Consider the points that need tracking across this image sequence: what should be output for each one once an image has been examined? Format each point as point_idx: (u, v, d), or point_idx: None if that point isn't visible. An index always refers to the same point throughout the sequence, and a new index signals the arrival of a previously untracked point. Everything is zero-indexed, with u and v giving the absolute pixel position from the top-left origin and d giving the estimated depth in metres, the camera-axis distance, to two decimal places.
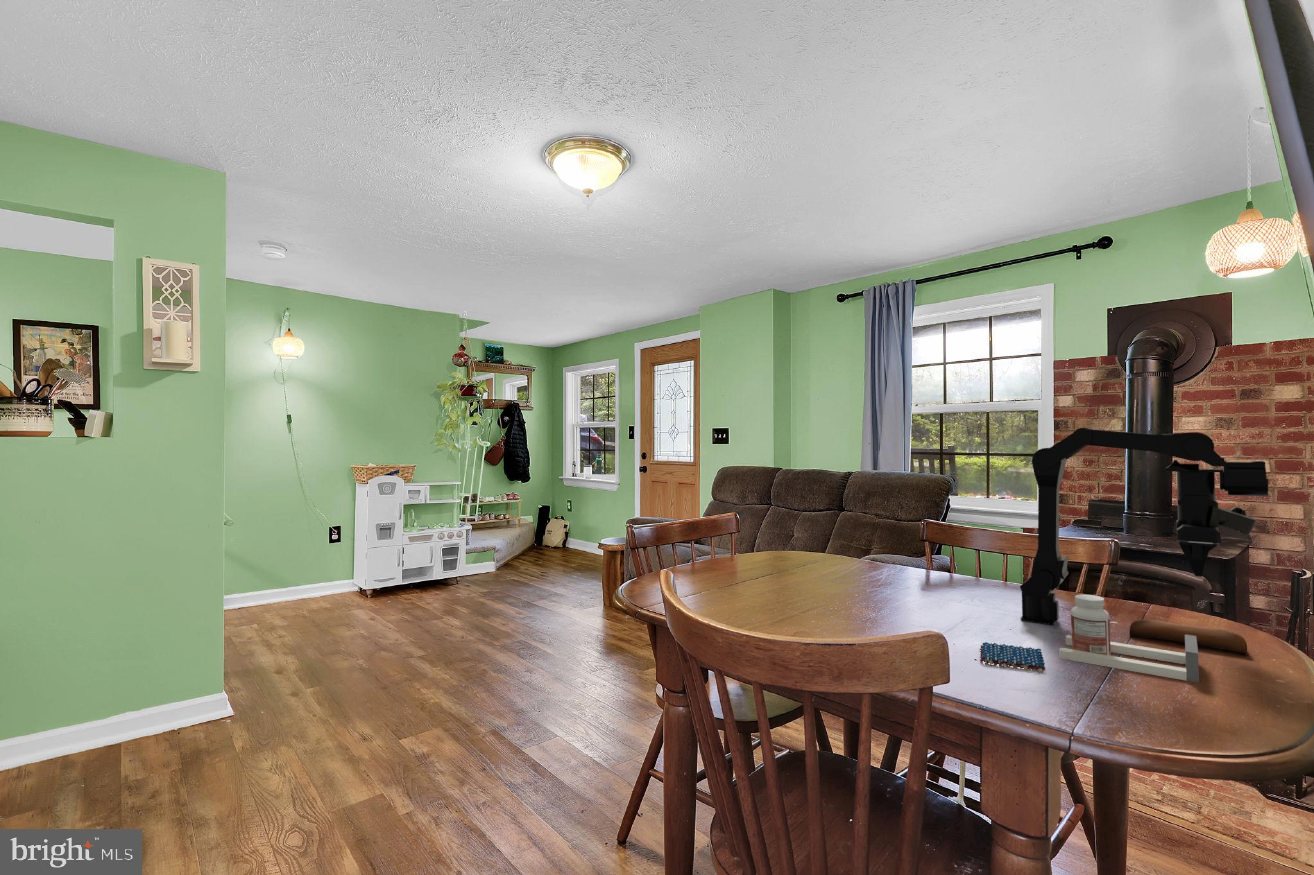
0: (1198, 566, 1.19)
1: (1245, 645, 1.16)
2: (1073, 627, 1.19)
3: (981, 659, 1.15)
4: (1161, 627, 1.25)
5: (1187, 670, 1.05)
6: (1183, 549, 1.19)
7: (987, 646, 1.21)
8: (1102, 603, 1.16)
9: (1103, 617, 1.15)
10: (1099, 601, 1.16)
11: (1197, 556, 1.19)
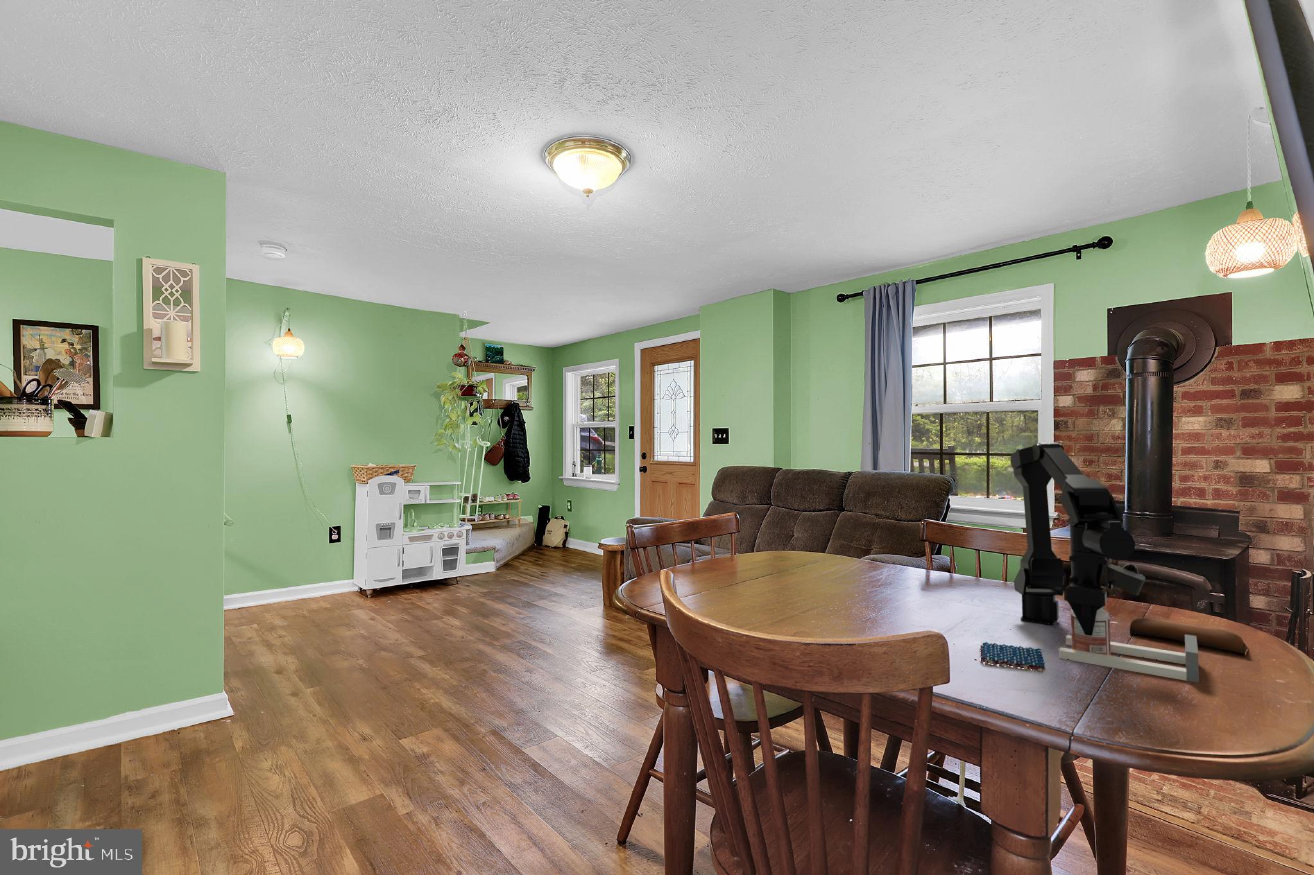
0: (1087, 625, 1.15)
1: (1242, 645, 1.16)
2: (1073, 627, 1.19)
3: (981, 659, 1.15)
4: (1161, 625, 1.26)
5: (1187, 670, 1.05)
6: (1072, 607, 1.16)
7: (987, 646, 1.21)
8: None
9: (1103, 617, 1.15)
10: None
11: (1086, 615, 1.15)
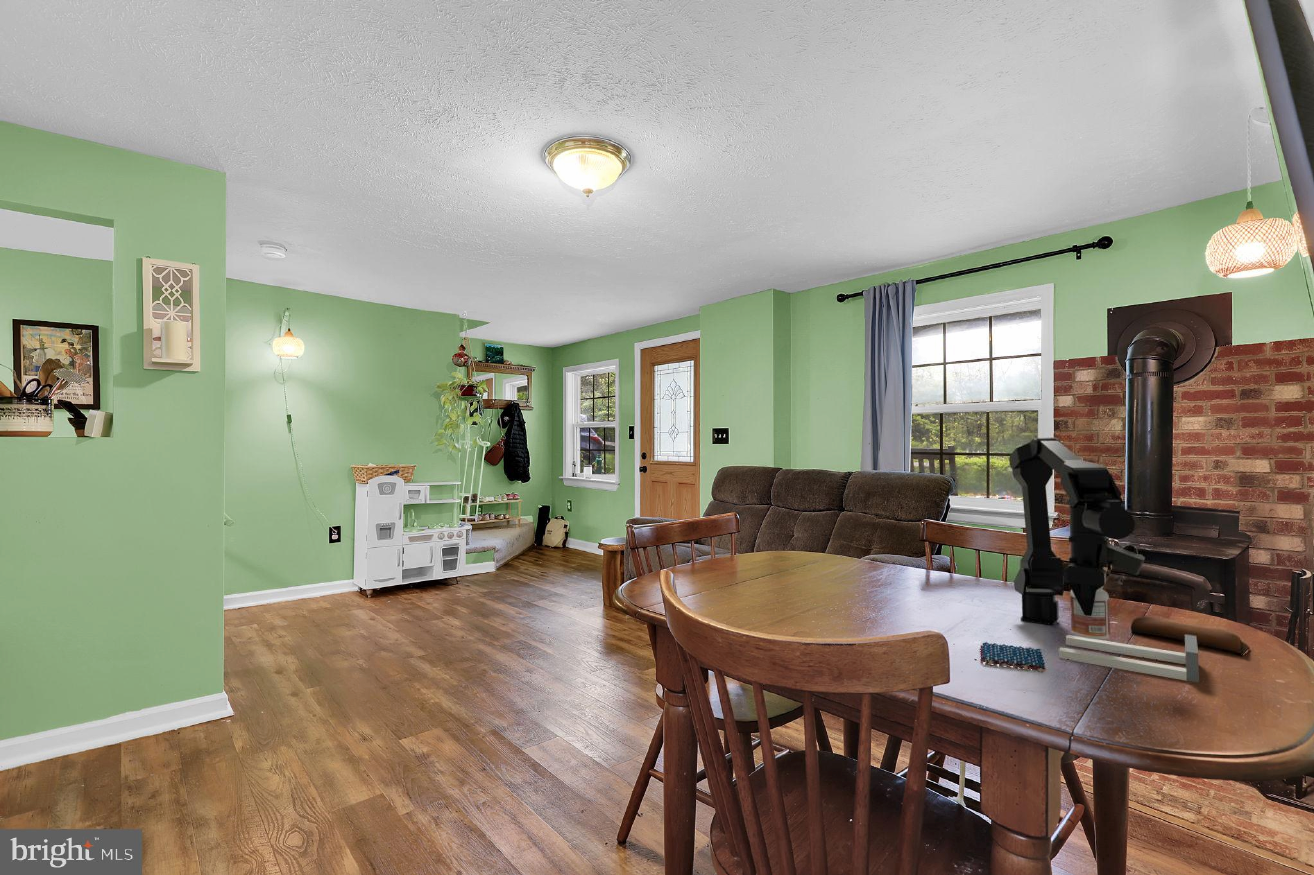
0: (1087, 605, 1.15)
1: (1240, 645, 1.16)
2: (1073, 608, 1.19)
3: (981, 659, 1.15)
4: (1162, 624, 1.27)
5: (1187, 670, 1.05)
6: (1072, 587, 1.16)
7: (987, 646, 1.21)
8: None
9: (1102, 597, 1.15)
10: None
11: (1086, 595, 1.15)
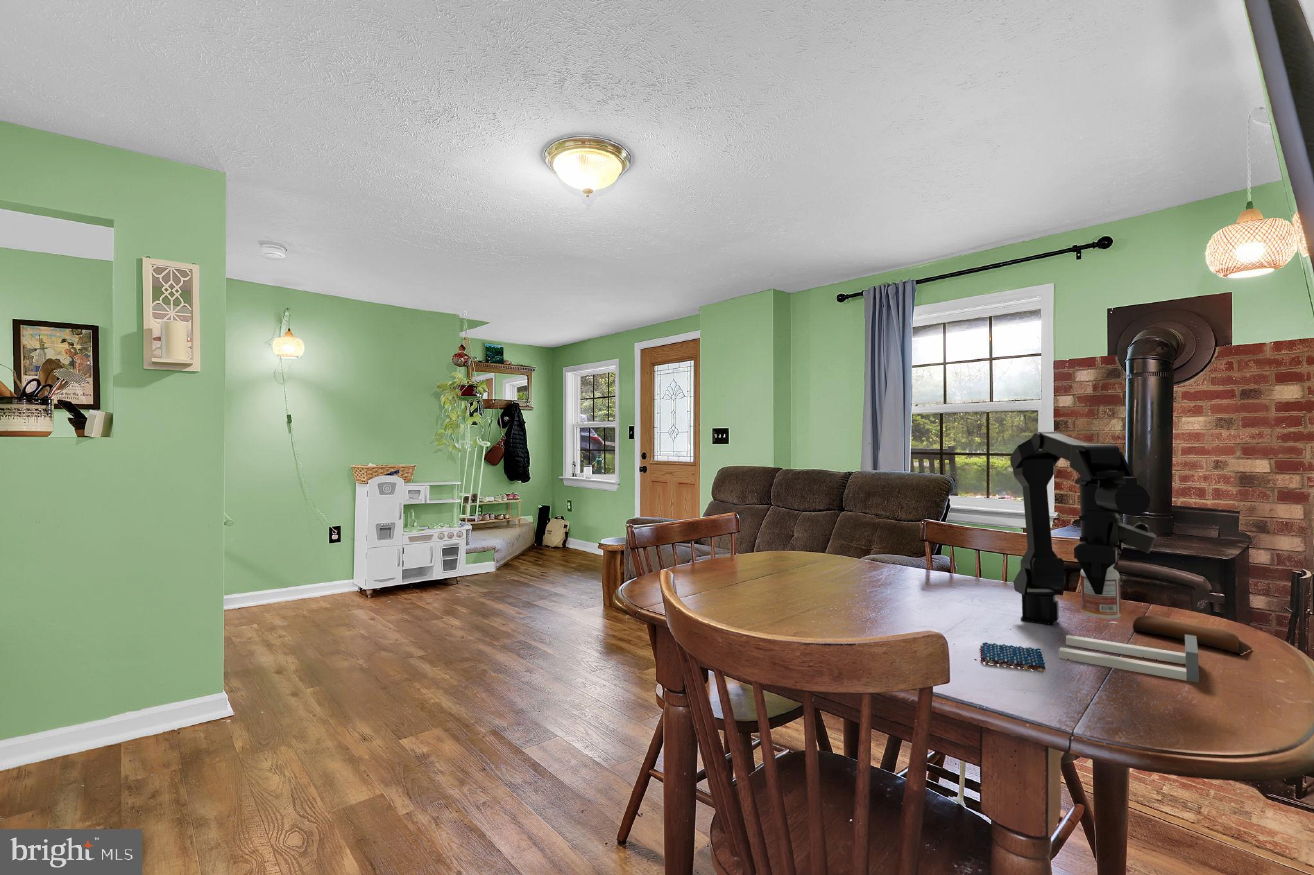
0: (1097, 584, 1.14)
1: (1238, 645, 1.16)
2: (1083, 587, 1.18)
3: (981, 659, 1.15)
4: (1163, 623, 1.27)
5: (1187, 670, 1.05)
6: (1082, 566, 1.15)
7: (987, 646, 1.21)
8: None
9: (1113, 576, 1.14)
10: None
11: (1096, 574, 1.14)
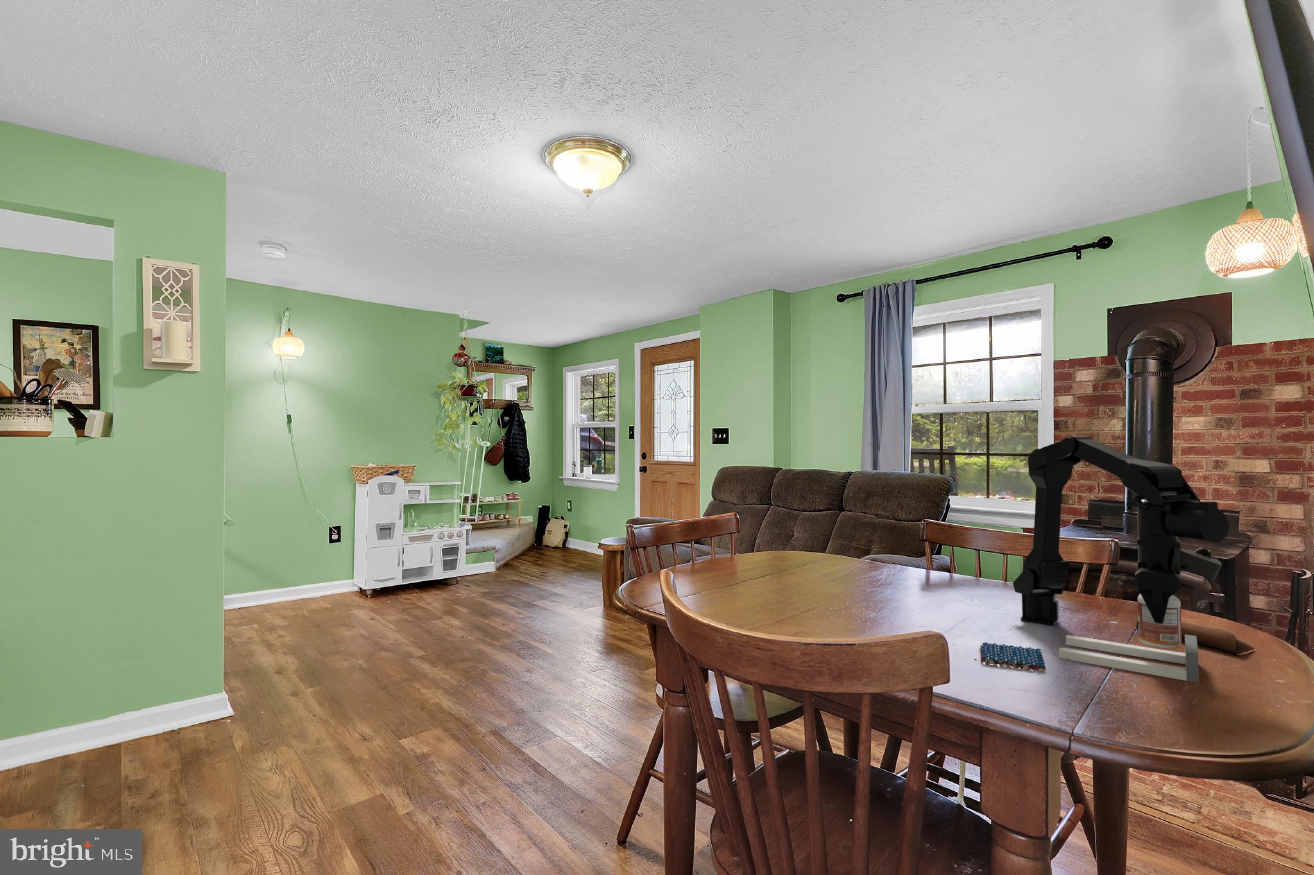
0: (1158, 612, 1.09)
1: (1235, 645, 1.16)
2: (1141, 615, 1.12)
3: (981, 659, 1.15)
4: None
5: (1187, 670, 1.05)
6: (1142, 594, 1.09)
7: (987, 646, 1.21)
8: None
9: (1175, 604, 1.09)
10: None
11: (1157, 602, 1.08)
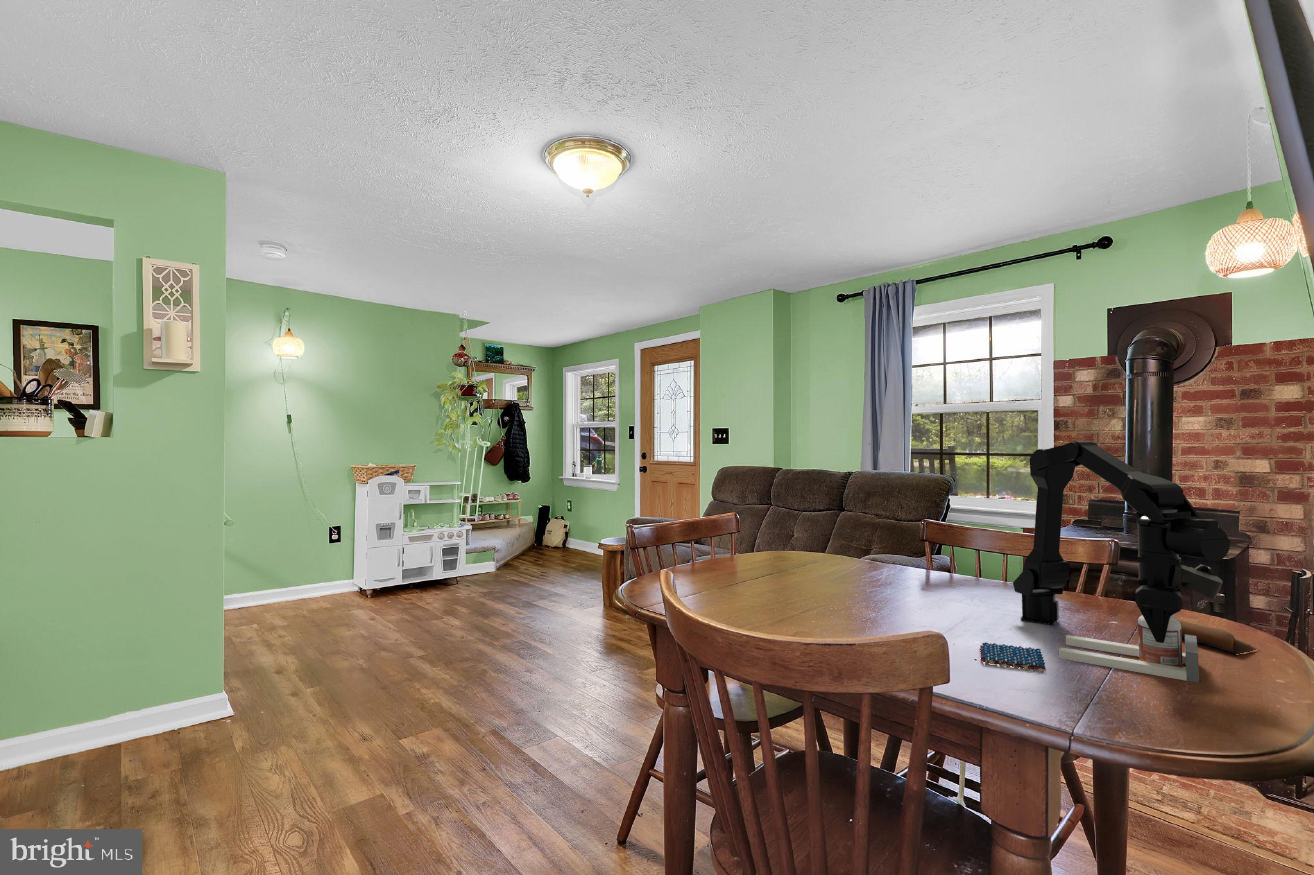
0: (1159, 631, 1.08)
1: (1233, 644, 1.16)
2: (1141, 637, 1.12)
3: (981, 659, 1.15)
4: None
5: (1187, 670, 1.05)
6: (1143, 612, 1.08)
7: (987, 646, 1.21)
8: None
9: (1175, 627, 1.09)
10: None
11: (1158, 621, 1.08)
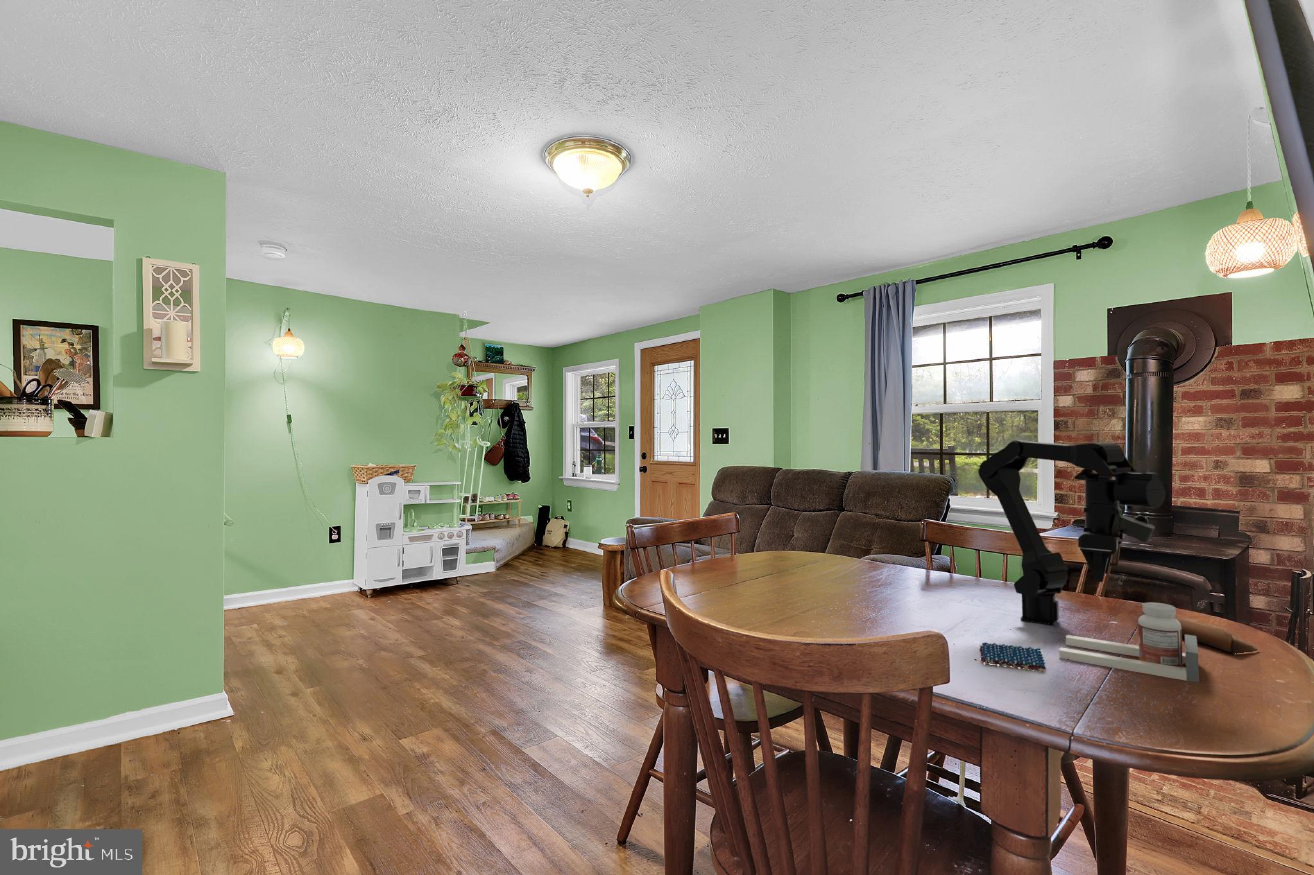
0: (1099, 572, 1.24)
1: (1230, 644, 1.17)
2: (1141, 637, 1.12)
3: (982, 659, 1.15)
4: None
5: (1187, 670, 1.05)
6: (1085, 555, 1.24)
7: (987, 646, 1.21)
8: (1174, 612, 1.10)
9: (1175, 627, 1.09)
10: (1170, 610, 1.09)
11: (1098, 562, 1.23)
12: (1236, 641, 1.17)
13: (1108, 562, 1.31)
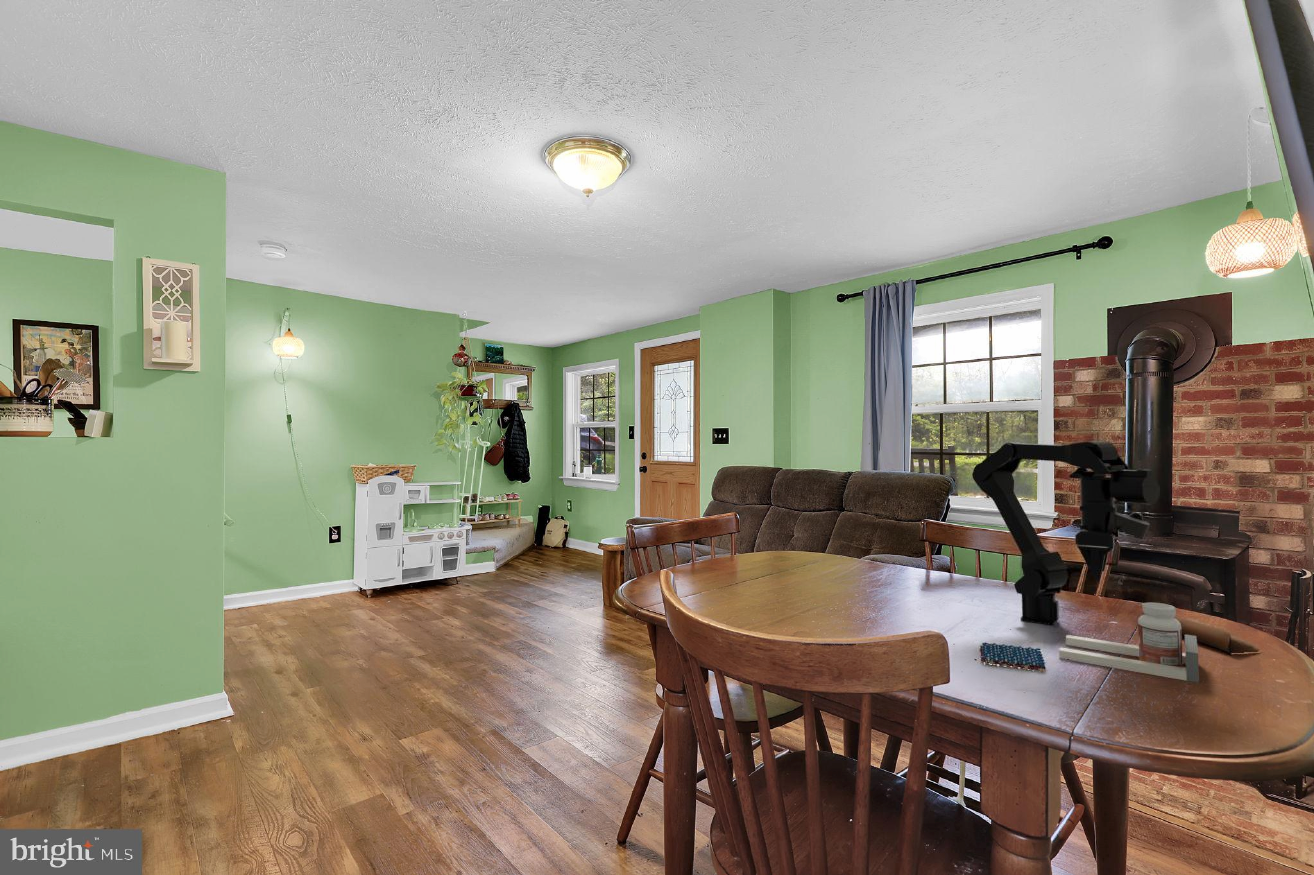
0: (1096, 569, 1.25)
1: (1228, 644, 1.17)
2: (1141, 637, 1.12)
3: (982, 659, 1.15)
4: None
5: (1187, 670, 1.05)
6: (1082, 553, 1.25)
7: (987, 646, 1.21)
8: (1173, 612, 1.10)
9: (1175, 627, 1.09)
10: (1170, 610, 1.09)
11: (1095, 559, 1.25)
12: (1235, 641, 1.17)
13: (1104, 560, 1.32)
